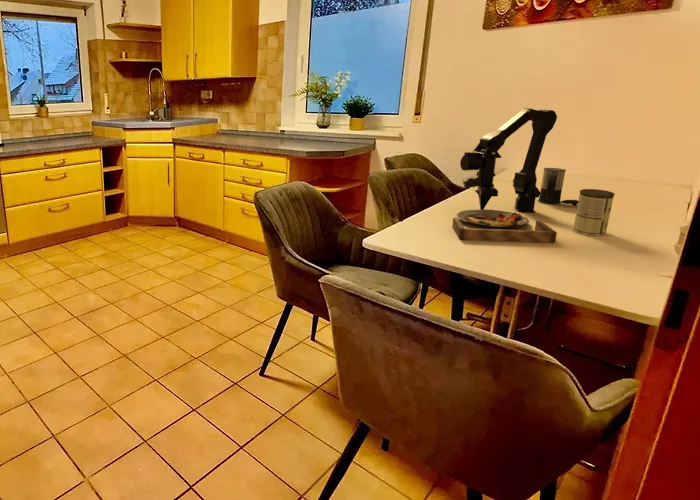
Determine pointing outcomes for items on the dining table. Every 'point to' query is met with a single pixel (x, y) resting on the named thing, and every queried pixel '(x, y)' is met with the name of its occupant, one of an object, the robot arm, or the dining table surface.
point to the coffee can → (593, 212)
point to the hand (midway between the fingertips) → (481, 209)
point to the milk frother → (553, 187)
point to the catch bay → (506, 233)
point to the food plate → (492, 218)
